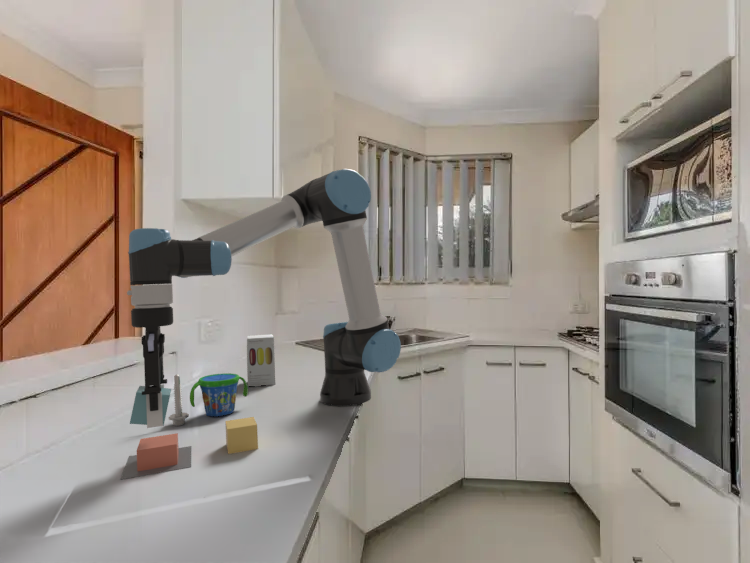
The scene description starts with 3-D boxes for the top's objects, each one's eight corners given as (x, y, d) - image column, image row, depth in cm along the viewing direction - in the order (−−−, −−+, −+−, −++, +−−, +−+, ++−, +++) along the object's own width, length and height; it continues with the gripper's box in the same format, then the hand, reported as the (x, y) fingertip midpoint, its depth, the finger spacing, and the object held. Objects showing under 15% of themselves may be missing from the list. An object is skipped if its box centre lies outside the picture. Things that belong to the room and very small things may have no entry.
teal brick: (165, 417, 93) (171, 388, 94) (163, 425, 88) (170, 395, 88) (133, 415, 91) (139, 385, 92) (129, 423, 86) (136, 392, 86)
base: (191, 449, 98) (190, 427, 98) (191, 470, 87) (190, 446, 87) (129, 459, 94) (128, 437, 93) (120, 483, 82) (119, 457, 82)
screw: (170, 422, 118) (190, 420, 119) (167, 428, 113) (188, 425, 115) (168, 373, 118) (187, 371, 119) (165, 377, 113) (186, 375, 114)
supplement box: (247, 387, 154) (245, 338, 153) (247, 381, 162) (246, 335, 162) (276, 384, 156) (274, 336, 156) (274, 379, 165) (273, 333, 165)
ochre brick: (254, 443, 101) (253, 416, 101) (258, 452, 95) (257, 424, 95) (226, 448, 98) (225, 421, 98) (228, 458, 93) (227, 429, 93)
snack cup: (242, 404, 133) (241, 369, 133) (254, 412, 124) (252, 375, 124) (186, 414, 124) (185, 378, 124) (194, 424, 116) (193, 384, 116)
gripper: (136, 305, 97) (140, 411, 97) (124, 309, 80) (129, 439, 80) (174, 303, 100) (178, 406, 100) (170, 307, 82) (175, 433, 83)
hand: (156, 421), depth 90 cm, fingers closed on teal brick, 6 cm apart
